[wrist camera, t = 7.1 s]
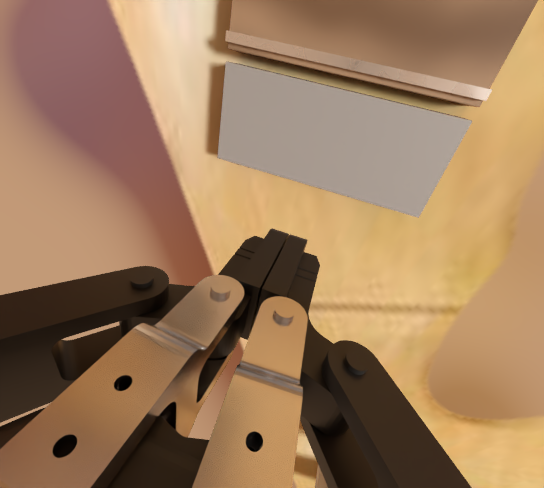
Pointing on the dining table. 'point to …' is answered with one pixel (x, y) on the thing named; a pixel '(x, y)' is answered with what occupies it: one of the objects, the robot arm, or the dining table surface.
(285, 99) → the slate plank
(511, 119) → the dining table surface
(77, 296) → the robot arm
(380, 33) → the glossy brown slab
